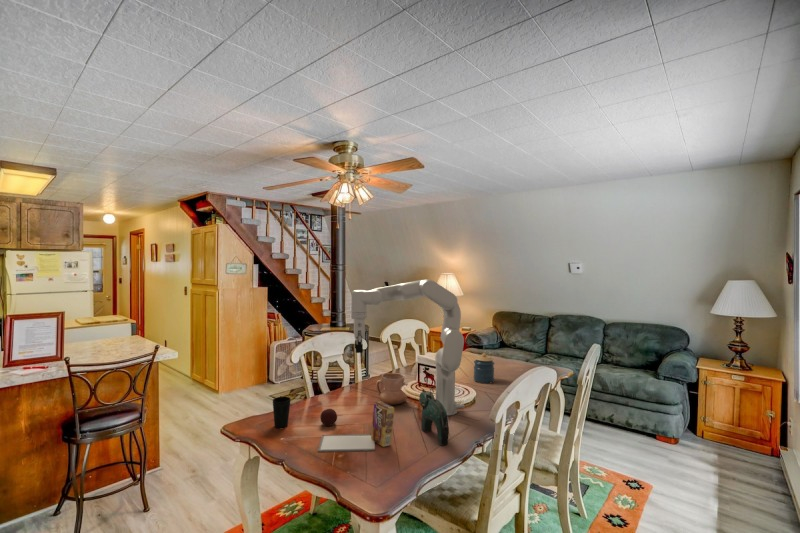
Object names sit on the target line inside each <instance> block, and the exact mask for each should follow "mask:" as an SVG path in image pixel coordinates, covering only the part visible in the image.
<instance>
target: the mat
mask: <svg viewBox="0 0 800 533" xmlns="http://www.w3.org/2000/svg"><path fill="white" fill-rule="evenodd" d="M375 443H376V442H375V441H373V440H372V439H371V434H369V433H368V434H364V433H363V434H359V433H358V434H322V435H321V439H320V443H319V446H318V449H317V452H318V453H324V452H326V453H327V452H328V453H331V452H332V453H333V452H335V453H336V452H374V451H375V450H376V444H375Z"/></svg>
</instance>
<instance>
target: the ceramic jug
mask: <svg viewBox="0 0 800 533" xmlns="http://www.w3.org/2000/svg"><path fill="white" fill-rule="evenodd" d="M404 381H405V374H402V373H398V372H396V373H395V372H387V373H382V374H381V379H378V380H377V381H376V382H375V386H376V390H377V392H378V398H379V401H382V402H384V403H386V404H388V405H390V406H393V405H394V406H395V405H401V404H402V403H404V402H405V401H407V398H408V396H407V394H406V392H405V391H403V390H402V387H404V386H406V387H407V386H408V385H409V383H408V382H404ZM379 384H381V385H383V387H384V389H383V390H382V391H381V389H380V386H379Z"/></svg>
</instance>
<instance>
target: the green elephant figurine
mask: <svg viewBox="0 0 800 533" xmlns="http://www.w3.org/2000/svg"><path fill="white" fill-rule="evenodd" d="M433 393H435V391H434V388H432V387H431V388H430V390H429V391H426V390H425V389H424V388H422V390H421V392H420V394H419V396H418V397H419V398H418V399H419V400H418V402H419V405H420V406H421V408H422V410H421V419H420V421H421V431H423V432H424V433H428V432H432V428H433V427H432V426H433V423H434V425H435V427H436V433H437V439H438V440H437V441H438V445H440V446H441V445H442V447H443V445H444V446H448V444H449V434H450V428H449V418H448V416H447V413H446V410H445V408H444V406H443V404H442V403H441V402H440V401H438V400H436V398H435V395H434V394H433Z"/></svg>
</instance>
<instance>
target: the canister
mask: <svg viewBox="0 0 800 533" xmlns="http://www.w3.org/2000/svg"><path fill="white" fill-rule="evenodd" d="M474 359H475V360H474V361H473V363H474V365H473V381H474V380H475V381H474V382H476V381H477V382H476V383H479V382H482V383H481V384H491V383H490V382H492V383H494V382H495V362H494V358H492V357H491V356H489V355H487V354H486V353H485V352H484V353H482V354H481V355H478V356H476V357H475V358H474ZM493 381H494V382H493Z"/></svg>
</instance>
